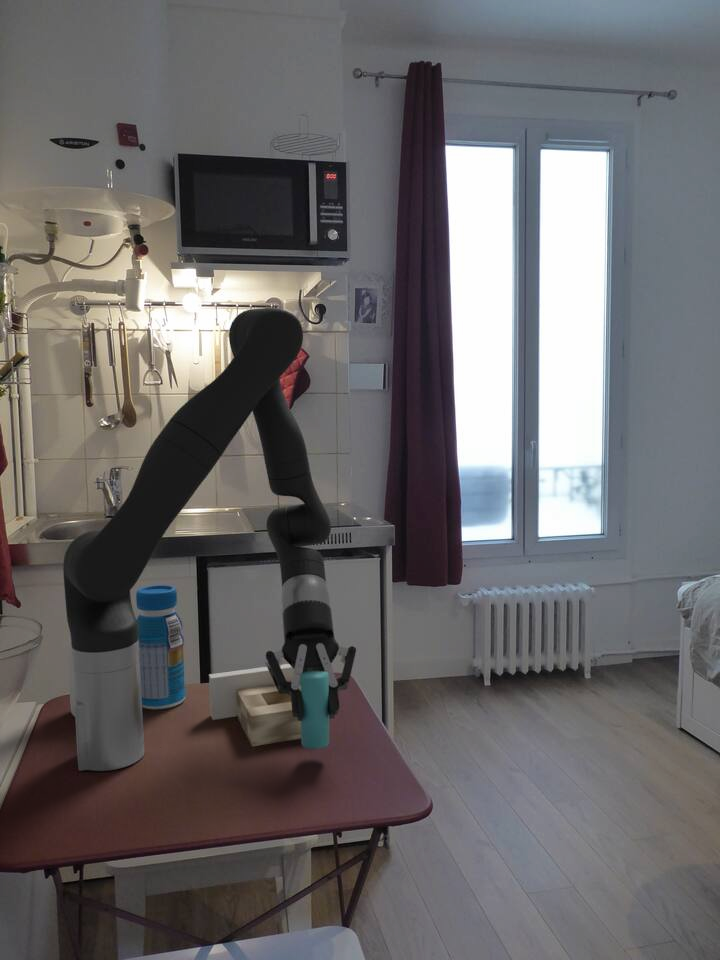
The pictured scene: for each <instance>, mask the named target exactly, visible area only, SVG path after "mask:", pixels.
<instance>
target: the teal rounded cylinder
mask: <svg viewBox="0 0 720 960" xmlns="http://www.w3.org/2000/svg"><path fill="white" fill-rule="evenodd" d="M300 686H301V694H302V705H303V721H301V738H300V741H301V743H300V744H301V746H302V747H304V748H305V749H311V750H312V749H314V750H319V749H323V748H326V747H327V746H329V744H330V719H329V677H328V673H327V672H324V671H319V670H312V671H306V672H303V673H302V674H301V675H300Z"/></svg>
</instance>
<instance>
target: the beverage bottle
mask: <svg viewBox="0 0 720 960" xmlns="http://www.w3.org/2000/svg"><path fill="white" fill-rule="evenodd" d="M177 591H178V590H177V589H176V587H175V586H173V585H167V584H161V585H160V584H157V585H155V584H154V585H149V586H144V587H141V588H139V589H137V590H136V594H135V597H136V598H135V599H136V600H135V603H136V608H137V610H138V611H139V612H140V613H139V615H138V616H137V618H136V621H137V624H138V640H139V660H140V678H141V697H142V709H147V710H164V709H170V708H173V707H177V706H179V705H180V704H182V703H183V702H184V701H185V700H186V687H185V684H186V683H185V660H184V659H185V657H184V645H185V639H184V638H185V637H184V635H183V634H182V629H183V622H182V620H181V618H180V615H179V614H178V613H177V611H175V608H176V607H177V606H178V605H177V604H178V596H177V595H178V594H177V593H178V592H177Z"/></svg>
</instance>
